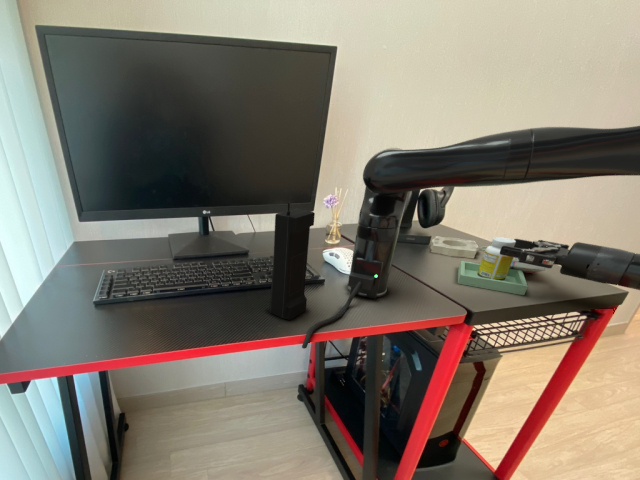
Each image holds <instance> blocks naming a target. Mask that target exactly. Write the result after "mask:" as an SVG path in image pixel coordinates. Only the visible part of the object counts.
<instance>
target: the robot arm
mask: <svg viewBox="0 0 640 480" xmlns="http://www.w3.org/2000/svg"><path fill="white" fill-rule="evenodd" d="M619 176H620V177H625V176H631V177H632V176H634V177H635V176H640V125H636V126H627V127H616V128H599V127H598V128H597V127H579V126H578V127H577V126H544V127H543V126H541V127H531V128H522V129H517V130H510V131H502V132H498V133H493V134H488V135H483V136H479V137H475V138H471V139H468V140H464V141H460V142H457V143H453V144H450V145H445V146H440V147H432V148H430V147H429V148H418V149H417V148H416V149H402V148H400V147H389V148H385V149H383V150H380V151H378V152H376V153H375V154H374V155H373V156H371V157H370V159H369V160H368V161H367V163H366V164H365V166H364V169H363V172H362V181H363V184H364V186H365V189H364V195H363V200H362V204H361V207H360V210H359V214H358V221H357V227H356V233H355V237H354V238H355V239H354V244H353V252H352V259H351V264H350V272H349V275H348V282H347V290H348V291H349V294H350V295H349V297H348V299H347V300H346V303H345V304H344V306H343V307H342V309H340V311H339V312H337V313H336V314H334V315H333V316H331V317H329V318H326V319H324V320H321V321H318V322H316V323H315V324H313V325H312V326H311V327H310V328H309V329H308V330H307V331H306V334H305V336H304V339H303V342H302V345H301V348H302V349H307V348H308V346H309V343H310V340H311V337H312V334H313V332H314V331H316V330H317V329H318V328H320V327H322V326H324V325H328V324H330V323H333V322H335V321H336V320H338V319H340V318H341V317H342V316H344V314H345V313H346V312H347V310H348V308H349V307H350V306H351V303H352V301H353V299H354V298H355V296H359V297H364V298H368V299H373V300H376V299H377V298H380V297H384V296H385V295H386V294H387V290H388V284H389V281H390V280H389V279H390V276H391V275H390V274H391V269H392V265H393V260H394V255H395V252H396V246H397V242H398V238H399V233H400V228H401V224H402V220H403V216H404V212H405V208H406V203H407V198H408V194H409V193H410V192H414V191H420V190H426V189H434V188H475V187H496V186H497V187H499V186H511V185H512V186H513V185H524V184H532V183H533V184H534V183H541V182H542V183H543V182H553V181H554V182H555V181H565V180H575V179H577V180H578V179H585V178H595V177H596V178H597V177H619ZM513 240H515V241H516V243H515V246H514V247H511V246H502V248H501V250H500V254H501V255H505V256H510V257H515V258H518V260H519V261H518V262H520V263H526V264H531V265H535V266H540V267H545V269H553V266H555V265H556V266H560V269H559V273H560V274H561V275H564V276H569V277H572V278H577V279H581V280H585V281H591V282H594V283H600V284H606V285H613V286H618V287H624V288H628V289H632V290H636V291H640V253H638V252H637V253H636V252H632V251H628V250H625V249H621V248H616V247H611V246H610V247H609V246H604V245H598V244H591V243H585V242H580V241H576V242H574V243H573V244H572V245H571V247H570V245H569V244H563V243H558V242H554V241H547V240H543V239H538V240H533V241H531V240H526V239H521V238H513ZM569 248H570V249H569ZM528 255H529V257H527V256H528Z"/></svg>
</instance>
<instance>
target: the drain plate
mask: <svg viewBox="0 0 640 480" xmlns="http://www.w3.org/2000/svg"><path fill="white" fill-rule="evenodd" d="M429 249H430V250H431V251H430V253H432V254H437V255H439V254H440V255H444V256H449V257H456V258H467V259H475V256H476V255H477V252H478V251H476V250H477V249H479V244H477V243H476V241H475V240H470V239H462V238H458V237H448V236H447V237H445V236H439V235H438V236H437V235H435V236H434V238H432V240H431V243H430V247H429Z"/></svg>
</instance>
